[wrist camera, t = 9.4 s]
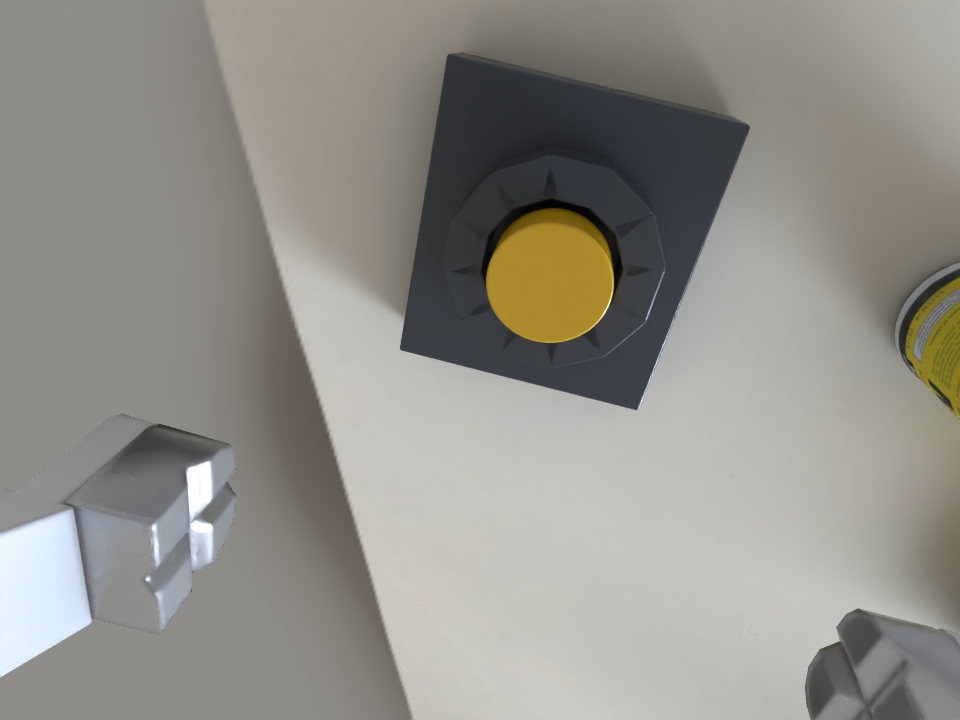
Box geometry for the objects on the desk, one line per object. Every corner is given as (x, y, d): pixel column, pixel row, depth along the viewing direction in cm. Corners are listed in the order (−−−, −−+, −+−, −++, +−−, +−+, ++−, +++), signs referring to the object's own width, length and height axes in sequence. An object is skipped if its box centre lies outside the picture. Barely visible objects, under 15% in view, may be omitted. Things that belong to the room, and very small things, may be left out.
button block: (460, 52, 20) (434, 54, 16) (735, 117, 20) (767, 134, 16) (413, 326, 25) (385, 373, 21) (634, 382, 24) (642, 439, 21)
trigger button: (507, 194, 18) (500, 208, 17) (627, 223, 18) (631, 240, 16) (482, 304, 20) (474, 326, 18) (592, 332, 20) (592, 356, 18)
